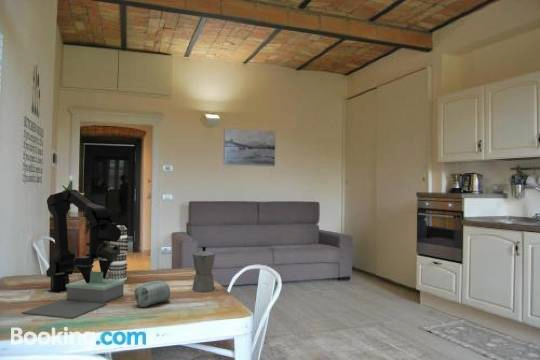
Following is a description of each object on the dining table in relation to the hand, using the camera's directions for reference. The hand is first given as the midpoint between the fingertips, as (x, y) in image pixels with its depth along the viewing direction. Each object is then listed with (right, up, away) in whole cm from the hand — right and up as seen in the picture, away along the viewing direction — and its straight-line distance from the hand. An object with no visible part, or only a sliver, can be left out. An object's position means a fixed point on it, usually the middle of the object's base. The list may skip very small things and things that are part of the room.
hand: (96, 280), depth 157 cm
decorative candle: (-4, -8, +34) cm, 35 cm away
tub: (0, -7, 0) cm, 7 cm away
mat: (-4, -6, -15) cm, 17 cm away
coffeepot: (+39, -8, +16) cm, 43 cm away
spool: (+24, -7, -8) cm, 26 cm away
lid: (0, -3, 0) cm, 3 cm away
